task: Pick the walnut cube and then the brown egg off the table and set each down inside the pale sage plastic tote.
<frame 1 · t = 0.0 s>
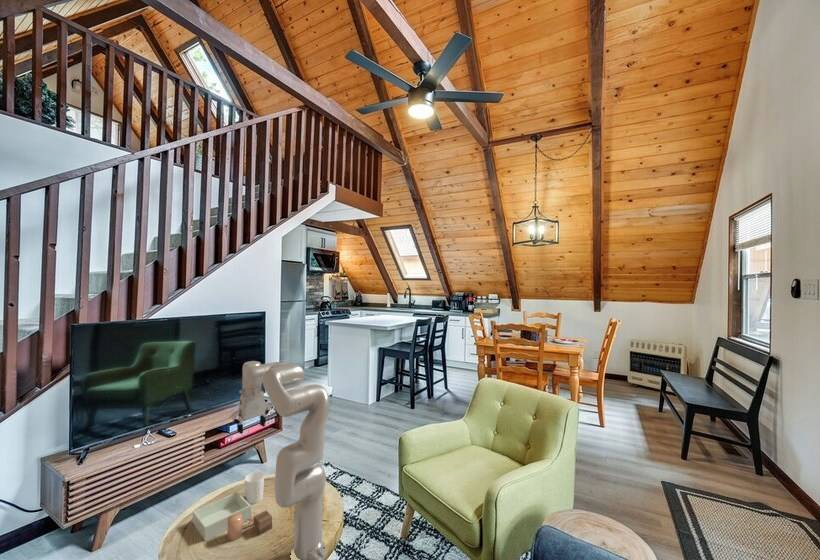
hand: (251, 429, 158), 31 cm above the table, fingers open, 9 cm apart
white cup: (254, 499, 159), on the table
tote: (222, 520, 145), on the table
cube: (262, 528, 141), on the table
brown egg: (234, 535, 137), on the table
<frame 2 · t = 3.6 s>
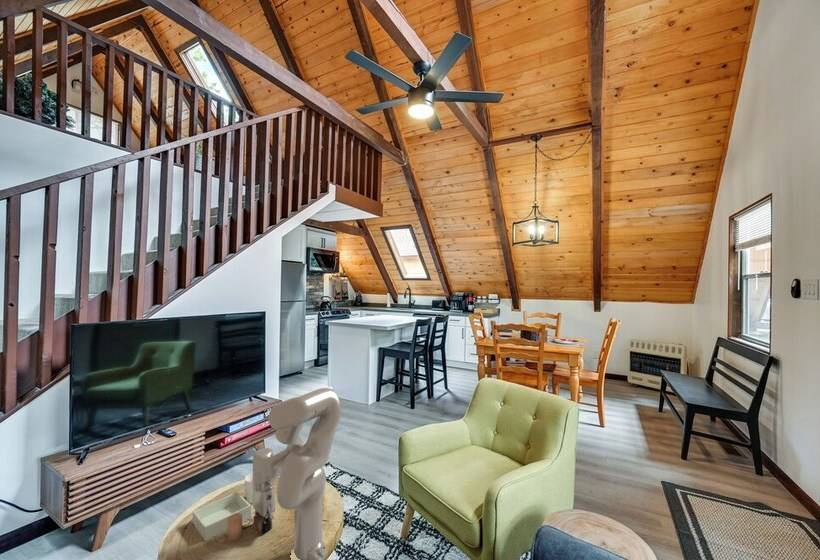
hand: (262, 527, 141), 0 cm above the table, fingers closed on cube, 5 cm apart
cube: (262, 528, 141), on the table, touching gripper
everything else where it was.
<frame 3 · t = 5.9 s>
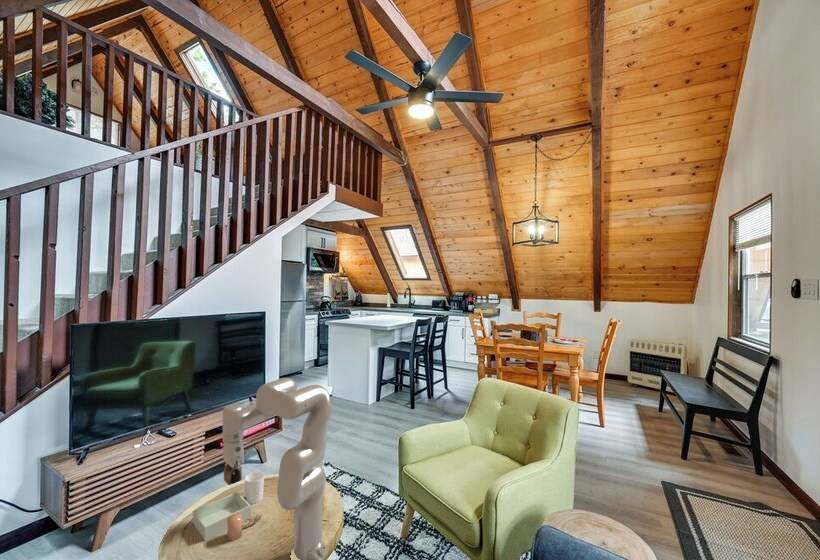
hand: (232, 479, 148), 15 cm above the table, fingers closed on cube, 5 cm apart
cube: (232, 480, 148), point 15 cm above the table, touching gripper
everything else where it was.
when the fingers open (3 cm above the table, at t = 8.4 s): cube drops 2 cm, resting on tote.
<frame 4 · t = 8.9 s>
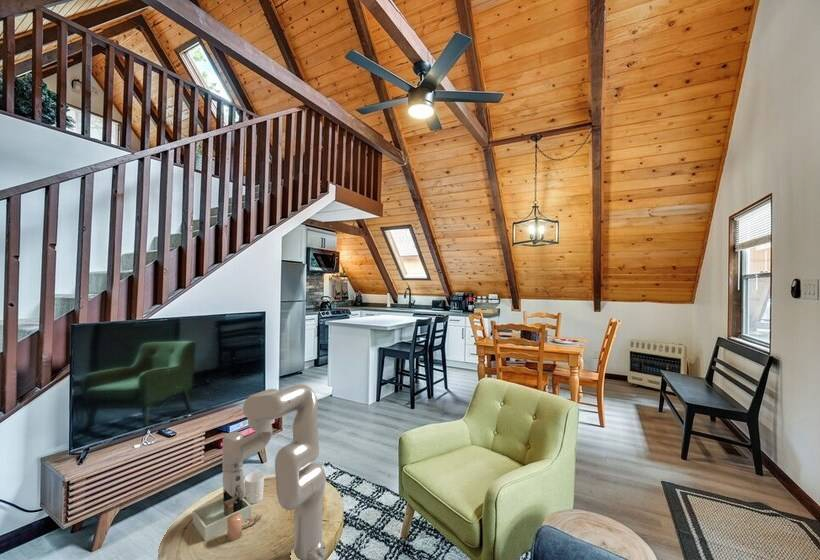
hand: (232, 505, 148), 4 cm above the table, fingers open, 9 cm apart
cube: (232, 514, 148), point 1 cm above the table, touching tote
everything else where it was.
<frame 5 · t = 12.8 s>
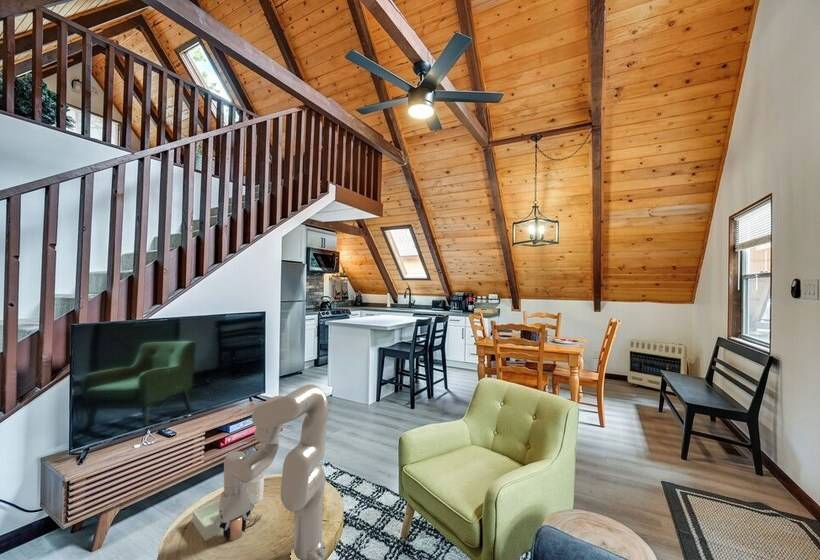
hand: (234, 533, 137), 1 cm above the table, fingers closed on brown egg, 5 cm apart
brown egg: (234, 535, 137), on the table, touching gripper
everything else where it was.
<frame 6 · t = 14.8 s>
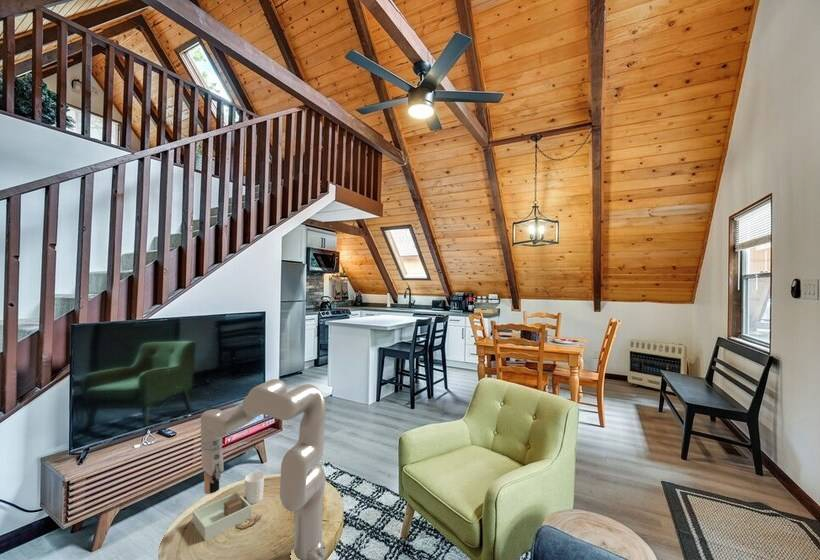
hand: (211, 487, 142), 15 cm above the table, fingers closed on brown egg, 5 cm apart
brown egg: (211, 490, 142), point 14 cm above the table, touching gripper
everything else where it was.
when the fingers open (3 cm above the table, at t = 17.4 s): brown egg drops 1 cm, resting on tote.
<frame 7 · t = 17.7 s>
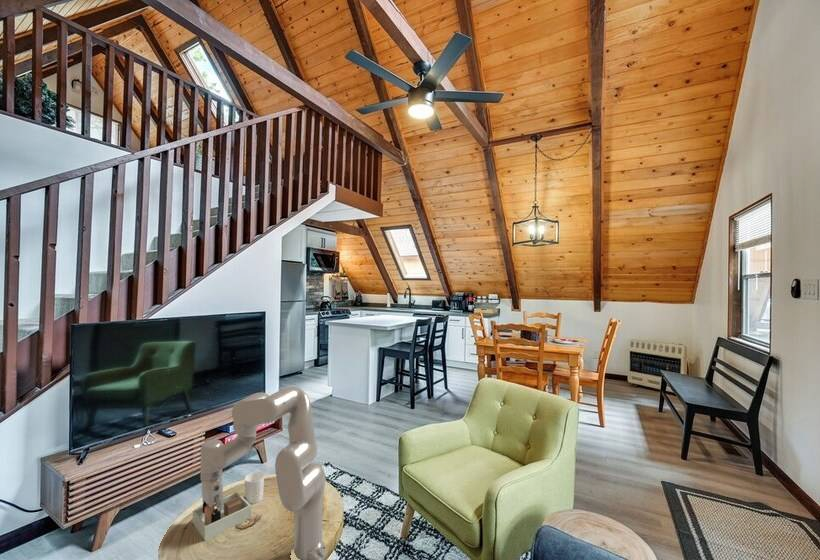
hand: (211, 516, 142), 4 cm above the table, fingers open, 8 cm apart
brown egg: (211, 524, 142), point 1 cm above the table, touching tote
everything else where it was.
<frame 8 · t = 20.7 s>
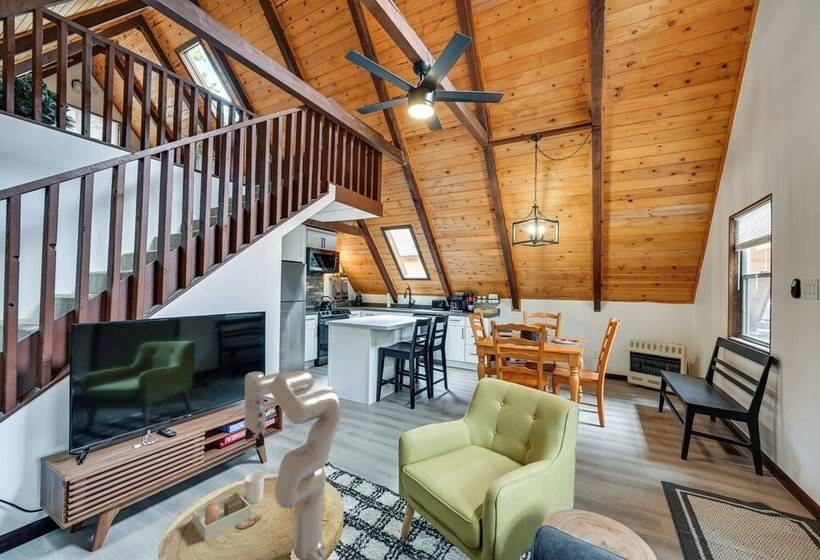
hand: (254, 442, 152), 28 cm above the table, fingers open, 9 cm apart
nothing on the table moved.
at the end: cube inside the target area on the tote (4.0 cm from its centre), point 0.6 cm above the tote's base; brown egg inside the target area on the tote (3.9 cm from its centre), point 0.7 cm above the tote's base; the gripper is holding nothing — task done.
